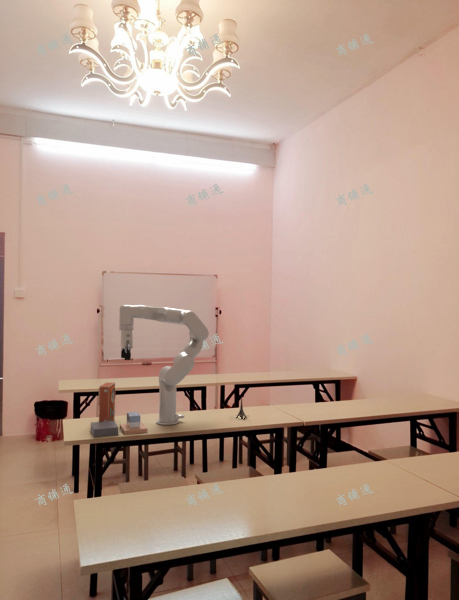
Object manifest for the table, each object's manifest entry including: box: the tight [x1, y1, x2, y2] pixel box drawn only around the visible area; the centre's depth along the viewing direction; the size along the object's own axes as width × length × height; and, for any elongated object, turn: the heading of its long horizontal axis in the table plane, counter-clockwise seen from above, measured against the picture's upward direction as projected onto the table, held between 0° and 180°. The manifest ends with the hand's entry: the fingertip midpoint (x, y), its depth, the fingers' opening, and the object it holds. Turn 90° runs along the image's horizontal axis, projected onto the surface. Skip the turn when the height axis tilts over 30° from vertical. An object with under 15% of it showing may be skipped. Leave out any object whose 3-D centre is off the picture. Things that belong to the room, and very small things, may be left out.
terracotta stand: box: [119, 421, 149, 436], centre depth 247 cm, size 12×14×2 cm
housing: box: [126, 411, 141, 429], centre depth 247 cm, size 6×9×6 cm, turn 23°
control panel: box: [98, 382, 117, 422], centre depth 261 cm, size 21×7×15 cm
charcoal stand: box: [90, 420, 119, 438], centre depth 241 cm, size 12×14×4 cm
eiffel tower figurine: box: [235, 397, 248, 420], centre depth 277 cm, size 15×10×13 cm
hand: (125, 359), depth 254 cm, fingers open, 9 cm apart
